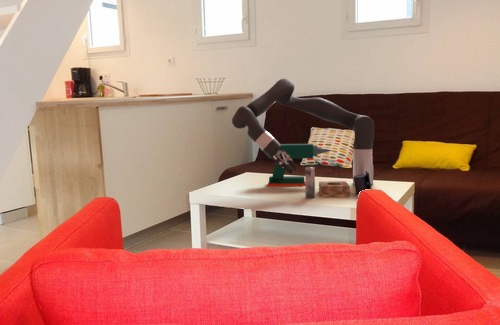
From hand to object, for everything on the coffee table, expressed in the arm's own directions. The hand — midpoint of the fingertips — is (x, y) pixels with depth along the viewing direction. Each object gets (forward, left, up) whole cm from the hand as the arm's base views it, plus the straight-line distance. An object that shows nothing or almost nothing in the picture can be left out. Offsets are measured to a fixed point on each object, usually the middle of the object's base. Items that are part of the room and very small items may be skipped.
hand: (294, 170), depth 199 cm
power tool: (-4, -30, -12) cm, 32 cm away
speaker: (-29, -3, -12) cm, 32 cm away
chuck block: (-17, -6, -11) cm, 22 cm away
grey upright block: (-6, +1, -11) cm, 13 cm away
